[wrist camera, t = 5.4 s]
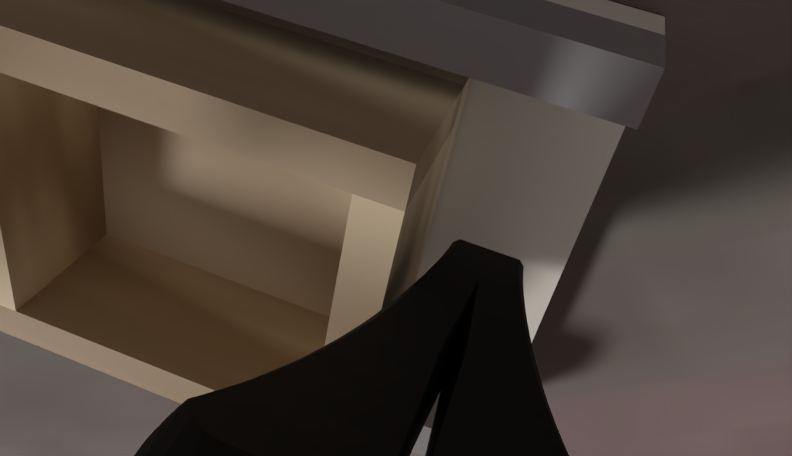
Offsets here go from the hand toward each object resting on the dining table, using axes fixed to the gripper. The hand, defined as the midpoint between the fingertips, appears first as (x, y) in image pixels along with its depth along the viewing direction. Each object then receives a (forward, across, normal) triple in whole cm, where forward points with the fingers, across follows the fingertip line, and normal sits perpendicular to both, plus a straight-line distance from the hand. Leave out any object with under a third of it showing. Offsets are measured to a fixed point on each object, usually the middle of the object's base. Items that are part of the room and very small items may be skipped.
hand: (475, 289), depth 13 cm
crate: (+1, +5, 0) cm, 5 cm away
